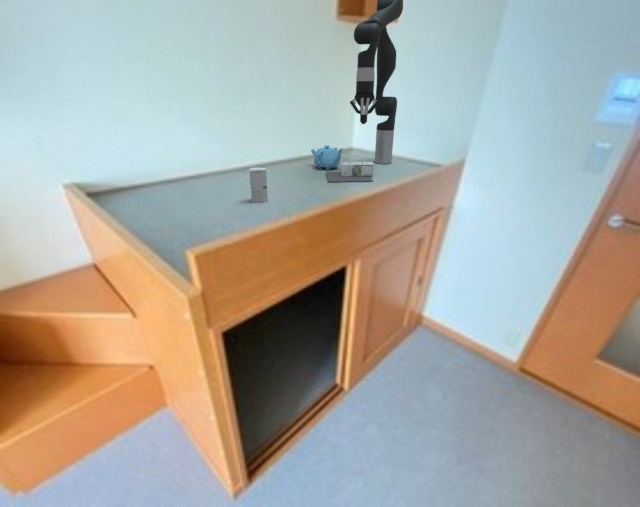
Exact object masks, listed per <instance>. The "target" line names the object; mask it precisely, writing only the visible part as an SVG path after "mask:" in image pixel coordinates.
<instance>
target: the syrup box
mask: <svg viewBox="0 0 640 507" xmlns="http://www.w3.org/2000/svg"><path fill="white" fill-rule="evenodd" d="M340 166H341V171H340V172H341V175H342V176H359V177H360V176H365V177H366V176H367V177H368V176H369V177H371V178H372V177H373V171H374V163H373V161H341V165H340Z"/></svg>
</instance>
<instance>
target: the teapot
mask: <svg viewBox="0 0 640 507" xmlns="http://www.w3.org/2000/svg"><path fill="white" fill-rule="evenodd" d="M343 150H344V148H339V149H338V147H330V145H327V144H326V145H324V147H319V148H317V150H316V149H315V148H312V149H311V150H310V152H311V153H312V155H313V156H314V159H313V160H314V161H313V162H314V165H315V166H316V167H317V169H319V170H320V169H322V168H325V170H326V171H331V168H333V169H337V166H339V164H340V160H341V157H342V151H343Z"/></svg>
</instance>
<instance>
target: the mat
mask: <svg viewBox="0 0 640 507" xmlns="http://www.w3.org/2000/svg"><path fill="white" fill-rule="evenodd" d="M325 174H326V180H327V182H328V183H329V184H330V183H373V182H374V180H373V179H372V177H369V176H368V177H367V176H366V177H365V176H360V177H359V176H342V175H341V171H325Z"/></svg>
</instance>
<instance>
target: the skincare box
mask: <svg viewBox="0 0 640 507" xmlns="http://www.w3.org/2000/svg"><path fill="white" fill-rule="evenodd" d="M248 169H249V170H248V171H249V183H250V193H251V197H250V198H251V202H252V203H259V202H268V201H269V200H268V183H267V179H268V178H267V169H266V167H265V166H264V167H249V168H248Z"/></svg>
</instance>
